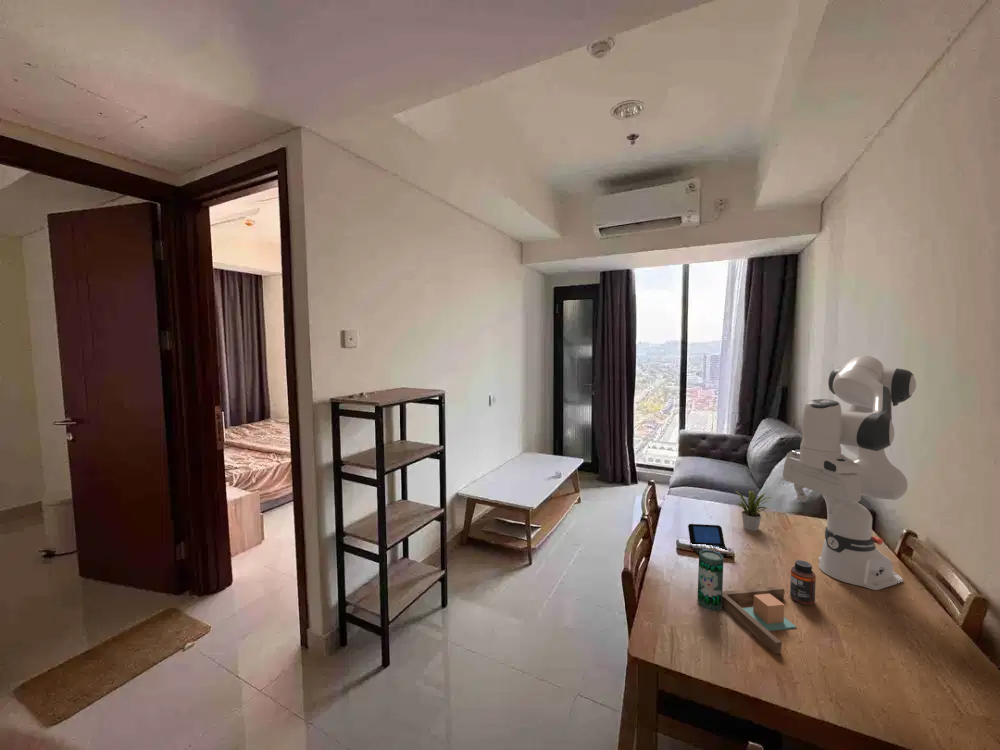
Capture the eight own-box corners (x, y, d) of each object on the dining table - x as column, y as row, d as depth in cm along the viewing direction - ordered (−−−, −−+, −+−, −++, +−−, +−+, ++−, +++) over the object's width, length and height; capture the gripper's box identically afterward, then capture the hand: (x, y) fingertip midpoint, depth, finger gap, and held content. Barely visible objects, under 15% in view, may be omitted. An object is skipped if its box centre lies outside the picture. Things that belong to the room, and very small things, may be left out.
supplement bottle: (809, 595, 121) (811, 560, 120) (818, 607, 115) (820, 570, 115) (786, 592, 123) (788, 556, 122) (793, 603, 117) (795, 566, 116)
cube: (753, 611, 113) (753, 595, 112) (768, 610, 114) (769, 593, 113) (767, 623, 108) (768, 606, 108) (783, 622, 109) (784, 604, 108)
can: (695, 605, 116) (697, 555, 116) (700, 595, 121) (702, 547, 120) (718, 613, 113) (720, 562, 112) (723, 603, 117) (725, 554, 116)
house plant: (782, 537, 158) (784, 497, 157) (747, 537, 159) (749, 497, 158) (759, 522, 173) (761, 485, 172) (727, 521, 173) (729, 485, 172)
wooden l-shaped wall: (779, 595, 121) (780, 586, 121) (848, 645, 101) (848, 634, 100) (717, 601, 118) (718, 591, 118) (775, 654, 98) (776, 642, 97)
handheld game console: (697, 556, 145) (698, 536, 144) (686, 541, 155) (687, 523, 155) (733, 558, 143) (734, 538, 143) (720, 543, 154) (721, 524, 154)
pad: (769, 606, 116) (769, 605, 116) (796, 627, 107) (796, 626, 107) (741, 609, 114) (741, 608, 114) (766, 631, 106) (766, 629, 106)
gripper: (778, 449, 120) (776, 494, 121) (846, 469, 99) (843, 523, 100) (796, 448, 121) (794, 493, 121) (867, 468, 100) (864, 521, 101)
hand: (817, 506), depth 111 cm, fingers open, 8 cm apart
